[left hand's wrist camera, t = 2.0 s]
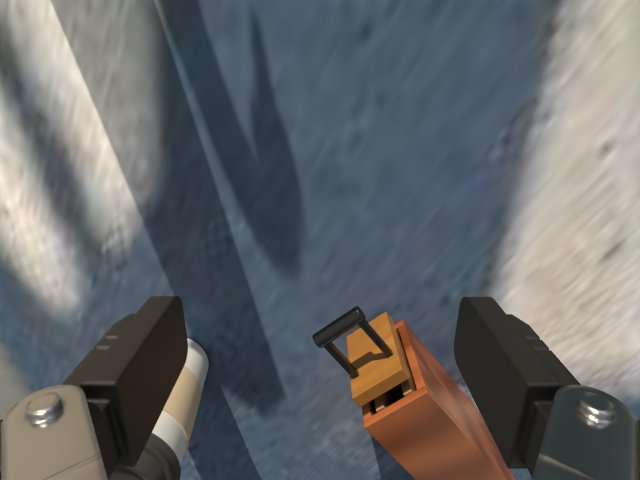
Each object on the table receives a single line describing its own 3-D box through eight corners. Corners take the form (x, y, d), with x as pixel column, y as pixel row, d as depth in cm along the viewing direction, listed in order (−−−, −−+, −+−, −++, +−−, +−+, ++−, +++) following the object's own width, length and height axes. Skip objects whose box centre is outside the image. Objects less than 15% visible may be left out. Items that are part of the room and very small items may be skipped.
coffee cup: (137, 390, 44) (51, 531, 30) (133, 322, 41) (35, 445, 27) (218, 398, 44) (169, 541, 30) (220, 331, 41) (168, 458, 27)
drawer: (312, 299, 39) (309, 355, 31) (352, 271, 38) (360, 322, 30) (431, 430, 45) (454, 504, 37) (468, 409, 44) (501, 482, 36)
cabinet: (354, 349, 42) (363, 427, 32) (402, 319, 41) (427, 391, 31) (440, 443, 47) (470, 536, 37) (486, 419, 45) (529, 509, 36)
